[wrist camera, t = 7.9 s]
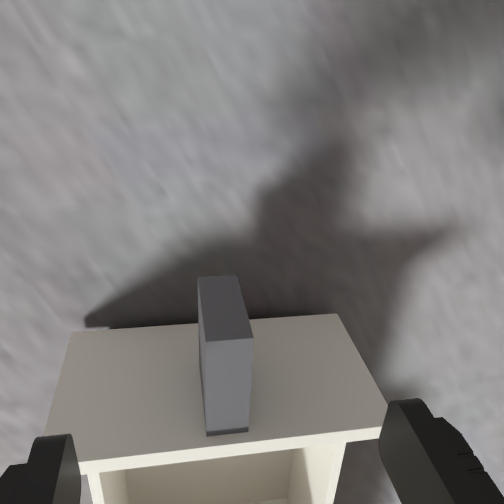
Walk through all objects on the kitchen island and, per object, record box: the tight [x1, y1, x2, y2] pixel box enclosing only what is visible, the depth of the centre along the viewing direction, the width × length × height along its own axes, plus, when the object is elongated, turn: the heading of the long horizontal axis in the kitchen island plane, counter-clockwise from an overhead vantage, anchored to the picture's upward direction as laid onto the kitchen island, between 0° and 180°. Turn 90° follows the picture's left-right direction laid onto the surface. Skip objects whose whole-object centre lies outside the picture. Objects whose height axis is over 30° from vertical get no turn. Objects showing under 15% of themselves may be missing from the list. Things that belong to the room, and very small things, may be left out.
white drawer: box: [43, 275, 388, 504], centre depth 20 cm, size 18×12×6 cm
